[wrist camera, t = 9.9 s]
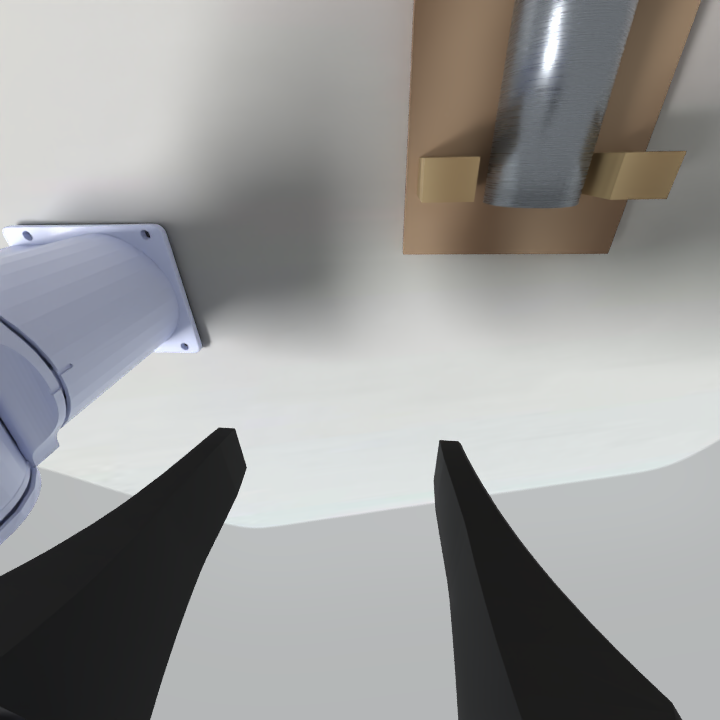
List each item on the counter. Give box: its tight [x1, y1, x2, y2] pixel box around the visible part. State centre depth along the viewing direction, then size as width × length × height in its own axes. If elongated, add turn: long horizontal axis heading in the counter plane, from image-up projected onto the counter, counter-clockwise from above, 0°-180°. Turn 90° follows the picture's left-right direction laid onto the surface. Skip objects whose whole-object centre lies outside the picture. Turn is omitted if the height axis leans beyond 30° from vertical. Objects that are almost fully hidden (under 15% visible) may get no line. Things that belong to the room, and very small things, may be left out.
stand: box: [403, 0, 701, 254], centre depth 11 cm, size 10×17×4 cm, turn 1°
